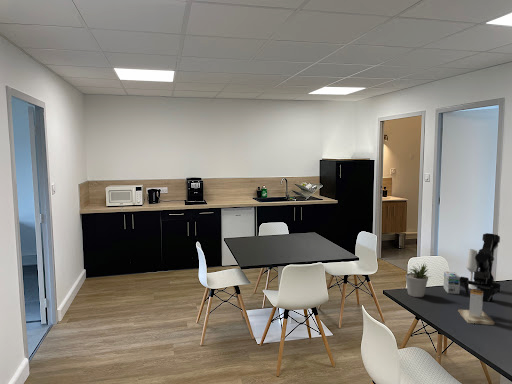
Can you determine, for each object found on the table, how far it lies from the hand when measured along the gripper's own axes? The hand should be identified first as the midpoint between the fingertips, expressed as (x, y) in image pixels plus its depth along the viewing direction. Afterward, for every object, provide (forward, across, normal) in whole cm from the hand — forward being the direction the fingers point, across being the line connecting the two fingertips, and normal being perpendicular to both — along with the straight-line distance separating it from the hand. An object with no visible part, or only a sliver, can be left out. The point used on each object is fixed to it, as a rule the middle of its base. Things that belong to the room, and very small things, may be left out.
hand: (477, 298), depth 200 cm
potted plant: (-3, -33, +17) cm, 37 cm away
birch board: (+8, 0, +5) cm, 10 cm away
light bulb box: (-18, -19, +32) cm, 41 cm away
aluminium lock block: (+8, 0, +4) cm, 9 cm away
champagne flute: (-29, -11, +44) cm, 54 cm away
